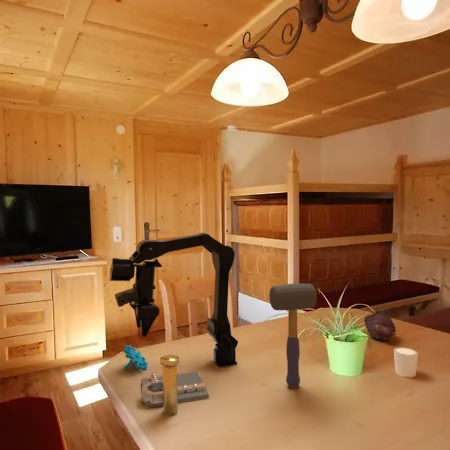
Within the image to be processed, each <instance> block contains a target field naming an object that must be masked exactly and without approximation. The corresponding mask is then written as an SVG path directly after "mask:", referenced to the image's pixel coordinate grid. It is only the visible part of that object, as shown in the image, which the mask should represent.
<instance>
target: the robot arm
mask: <svg viewBox="0 0 450 450" xmlns="http://www.w3.org/2000/svg"><path fill="white" fill-rule="evenodd" d="M201 246H202V247H203V248H204V249H205V250H206V251H208V252H209V253H210V254H211V259H212V264H213V267H214V271H215V273H214V274H215V275H214V276H215V277H214V292H213V293H214V298H213V299H214V300H213V314H212V315H211V318H210V317H208V318H207V321H206V322H207V327H206V331H208V332H207V333H208V335H209V336H210V337H211V338H212V339H213V341H214V342H216V343H215V344H214V346H215V348H213V361H214V362H215V363H214V364H216V365H217V367H219V368H222V367H230V366H237V365H238V362H237V361H236V359H237V358H236V357H237V356H236V348H237V347H238V344H239V341H238V340H237V339H236V338H235V337H234V336H233V335H232V330H231V323H230V320H229V317H228V310H229V309H228V308H229V307H228V306H229V285H230V284H229V283H230V280H229V279H230V272H231V269H232V267H233V264H234V261H235V257H236V255H235V254H236V253H235V250H234V248H232V247H231V246H230V245H225V244H224V243H221V242H220V241H218V240H217V239H215V238H214V237H212V236H211V235H210V234H209V233H206V232H199V233H196V234H191V235H185V236H181V237H174V238H170V239H169V238H168V239H142V240H140V241H139V242H138V244H137V245H136V249H135V251H134V252H133V253H132V254H131V255H130V257H128V258H118V257H113V258H112V259H111V264H110V265H111V266H110V268H109V281H110V282H130V281H131V280H133V278H134V279H135V280H134V283H132V288H129V289H125V290H122V291H119V292H116V293H114V298H115V300H116V304H117V307H118V308H121V307H124V306H125V305H127V304H129V305H130V307H131V308H132V309H133V310H134V311H133V312H134V316H135V323H136V328H137V329H138V328H139V329H140V330H141V332H140V333H141V336H142V337H147V335H148V333H149V332H150V329H151V328H152V326H153V324H154V323H155V321H156V319H157V318H158V317H159V315H160V308H159V307H158V306H157V304H156V303H155V298H154V290H156V285H155V275H156V268H162V267H163V265H162V264H161V263H160V261H159V259H158V258H160V257H162V256H164V255H166V254H168V253H172V252H176V251H182V250H187V249H191V248H198V247H201Z"/></svg>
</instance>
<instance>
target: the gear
mask: <svg viewBox="0 0 450 450" xmlns="http://www.w3.org/2000/svg"><path fill="white" fill-rule="evenodd" d="M123 348H124V349H123V350H122V351H123V353H125V358H126V359H129V362H128V363H127V364H126V365H125V366H124V367H123V369H124V370H125V371H127V369H128V368H130V366H132V364H135V365H134V367H135V368H136V369H138V368H139V370H141V371H144V370H147V368H148V362H147V361H146V357H144V356H142V351H141V350H140V349H138V350H137V348H136V347H132V346H131V345H130V344H128V345H125V346H124V347H123Z"/></svg>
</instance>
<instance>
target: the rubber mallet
mask: <svg viewBox="0 0 450 450" xmlns="http://www.w3.org/2000/svg"><path fill="white" fill-rule="evenodd" d="M268 297H269V303H270V306H271V308H272V309H273V310H274V311H288V320H287V321H288V322H287V323H288V329H287V330H288V333H287V334H288V335H287V339H286V347H285V348H286V353H285V354H286V361H287V362H286V363H287V366H286V367H287V371H286V373H287V374H286V377H285V378H286V379H285V382H286V384H287V386H288V387H289V388H298V387H299V385H300V384H301V378H300V368H299V366H300V365H299V364H300V363H299V361H300V354H301V353H300V341H299V336H298V310H305V309H311V308H314V307H315V305H316V304H317V301H318V296H317V291H316V288H315V286H314V285H313V284H312V283H286V284H278V285H272V286H271V287H270V289H269V296H268Z"/></svg>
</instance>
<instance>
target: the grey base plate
mask: <svg viewBox="0 0 450 450" xmlns="http://www.w3.org/2000/svg"><path fill="white" fill-rule="evenodd" d="M158 379H159V380H163V375H161V376H158ZM148 382H151V380H150V377H148V378H147V377H146V378H142V379H141V387H142V386H144V385H145V384H147V383H148ZM193 383H198V384H199V383H204V382H203V380H202V378H201V377H200V374H199V372H198V371H190V372H184V373H183V372H182V373H177V387H179V386H182V385H192V384H193ZM155 392H159V391H155ZM209 397H210V395H209V392H208V390H207V389H206V390H204V391H195V392H191V393H184V394H178V404H179V403H184V402H190V401H197V400H205V399H209ZM144 405H145V406H144V407H145V409H148V408H155V407H159V406H160V407H161V406H163V403H156V404H151V403H148V402H145V401H144Z"/></svg>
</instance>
